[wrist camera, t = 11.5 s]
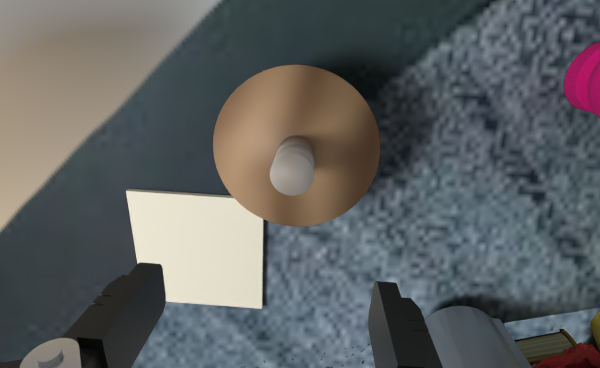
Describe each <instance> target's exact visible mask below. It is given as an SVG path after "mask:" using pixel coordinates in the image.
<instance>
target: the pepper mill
mask: <svg viewBox="0 0 600 368" xmlns="http://www.w3.org/2000/svg"><path fill="white" fill-rule="evenodd" d="M564 90H565V94H566V97H567V99H568V101H569V102H570V103H571V104H572V105H573V106H574V107H576V108H578V109H580V110H584V111H587V112H591V113H595V114H596V115H597V116H598V117H599V118H600V42H598V43H595V44H593V45H591V46H589V47H588V48H586V49H585V50H584V51H583V52H582V53H580V54H579V55H578V56H577V57H576V59H575V60H574V61H573V62H572V64H571V65H570V67H569V69H568V71H567V74H566V78H565V82H564Z"/></svg>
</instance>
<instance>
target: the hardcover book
mask: <svg viewBox="0 0 600 368" xmlns="http://www.w3.org/2000/svg"><path fill="white" fill-rule="evenodd" d="M514 341H515V342H516V344H517V345H518V347H519V348H520V350H521V351H522V353H523V354H524V356H525V357H526V359H527V360H528V362H529V363H530V365H532V364H535V362H536V363H537V362H541V361H542V360H544V359H546V358H548V357H549V356H555V355H561V354H563V353H564V349H568V348H570V347H574V348H576V346H577V343H576V342H575V341H574V339H573V338H572V337H571V336H570V335H569V334H568V333H567V332H566V331H565V330H564V329H560V332H556V333H550V334H545V335H540V336H534V337H529V338H524V339H518V340H514Z"/></svg>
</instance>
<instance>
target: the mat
mask: <svg viewBox="0 0 600 368" xmlns="http://www.w3.org/2000/svg"><path fill="white" fill-rule="evenodd" d="M126 194H127V200H128V206H129V213H130V219H131V225H132V232H133V238H134V244H135V250H136V257H137V263H140V262H142V263H155V264H161V265H162V268H163V276H164V284H165V293H166V301H168V302H181V303H194V304H207V305H221V306H234V307H247V308H260V309H262V306H263V240H264V219H262V218H260V217H258V216H256V215H254V214H253V213H251V212H250V211H248V210H247V209H245V208H244V207H243V206H242V205H241V204H240V203H238V202H237V200H236V199H235V198H234V197H233V196H229V195H214V194H200V193H185V192H171V191H156V190H141V189H128V190H126Z"/></svg>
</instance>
